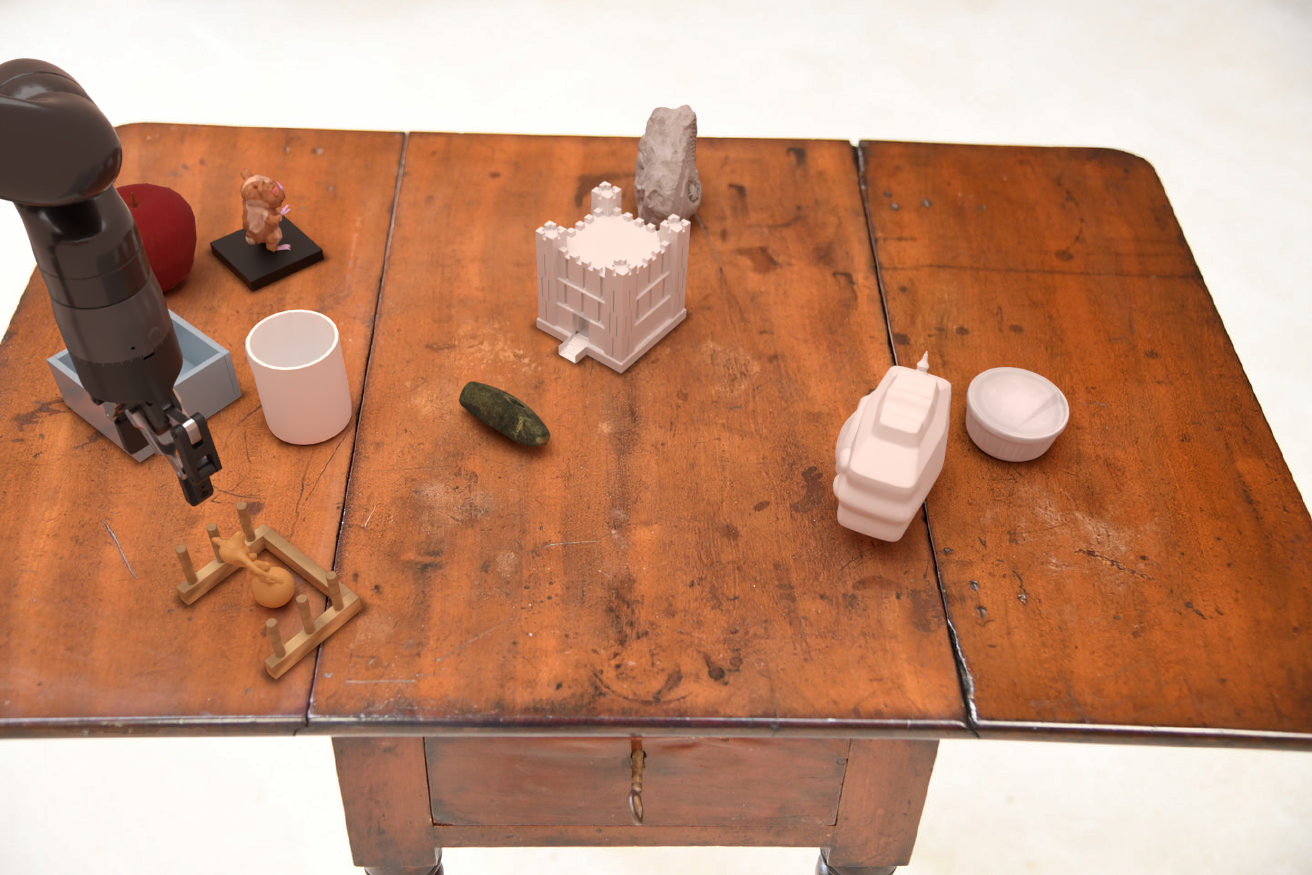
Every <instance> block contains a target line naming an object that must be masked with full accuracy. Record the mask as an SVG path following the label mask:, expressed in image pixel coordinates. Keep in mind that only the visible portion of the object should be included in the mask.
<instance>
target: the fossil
mask: <svg viewBox="0 0 1312 875" xmlns="http://www.w3.org/2000/svg"><path fill="white" fill-rule="evenodd" d="M697 122H698V118H697V114H696V112H695V111H693V108H692V107H691V106H690V105H689V104H687V103H686V104H683V105H680V106H679V107H677V108H669V107H667V106H666V107H665V106H659V107H655V108H654V109H653V110H652V112H651V114H650V116H649V117H648V119H647V121H646V125H645V129H644V130H645V132H644V134H642V136H641V137H640V139H639V141H638V143H637V146H636V147H637V155H636V161H635V164H634V170H635V175H634V182H633V187H634V191H633V192H634V193H633V194H634V200H635V202H636V203H635V206H636V208H637V218H638V217H639V218H641V219H643V220H644V225H646V226H647V225H648V224H649V223H651V224H653V225H655V226H656V229H655V230H656V231H659V230H660V223H662V222H663V221H664V220H667V221H668V217H669V216H671V215H672V214H675V215H677V216H679V217H680V222H681V220H683V219H685V220H687V221H689V222H690V219H691V217H692V216H693V215H694V214H695V213H696V212H697V209H698V208H699V206H700V205H701V202H702V197H703V186H702V182H701V181H700V176H699V171H698V169H697V156H696V152H697V136H698V123H697Z"/></svg>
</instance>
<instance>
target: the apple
mask: <svg viewBox="0 0 1312 875" xmlns="http://www.w3.org/2000/svg"><path fill="white" fill-rule="evenodd" d="M115 188H116V190H117V192H118V193H119V195H120V196H121V197H122V199H123V200H124V202H125V203H126V205H127V206H128V208H129V210H130V211H131V213H132V215H133V217H134V219H135V222H136V224H137V227H138V229H139V232H140V235H141V238H142V241H143V244H144V247H145V250H146V253H147V256H148V260H149V263H150V266H151V268H152V271H153V273H154V275H155V277H156V278H157V280H158V282H159V284H160V287H161V289H162V292H163V293H164V292H167V291H170V290H172V289H173V288H175V287H176V286H178V284H179V283H181V282H182V281H183V280H184V279H185V278H186V277H187V276H188V275H189V274H190V273H191V271H192V268H193V264H194V259H195V252H196V246H197V242H198V236H197V235H198V234H197V225H196V217H195V216H196V215H195V214H194V211H193V208H192V206H191V205H190V203H189V202H188V201H187V200H186V199H185V198H184V197H183V196H182V194H180V193H179V192H177V191H176V190H174V189H171V187H168V186H167V187H166V186H162V185H157V184H152V183H147V182H146V183H143V182H142V183H131V184H127V185H126V184H125V185H121V186H118V187H115Z"/></svg>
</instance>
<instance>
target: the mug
mask: <svg viewBox="0 0 1312 875" xmlns="http://www.w3.org/2000/svg"><path fill="white" fill-rule="evenodd" d="M244 352H245V357H246V360H247V363H248V365H249V368H250V370H251V372H252V375H253V379H254V382H255V385H256V389H257V392H258V393H257V394H258V398H259V401H260V404H261V408H262V412H263V416H264V419H265V422H266V424H267V427H268V429H269V431H270V432H271V433H272V434H273V435H274V437H276V438H278V439H279V440H282V441H283V442H286V443H289V444H293V445H302V446H303V445H314V444H319V443H323V442H326V441H327V440H330V439H331V438H333V437H336V436H337V435H338V434H339V433H341V432H342V431H343V430H344V429H345V428H346V427H347V426H348V424H349V423H350V420H351V417H352V415H353V405H352V404H353V403H352V396H351V390H350V386H349V385H350V384H349V381H348V380H349V379H348V376H347V370H346V365H345V359H344V354H343V348H342V343H341V339H340V334H339V330H338V328H337V325H336V323H335V322H334V321H333V320H332V319H331V317H328V316H326V315H324V314H323V313H320V312H317V311H314V310H309V309H291V310H289V309H288V310H284V311H281V312H276V313H274V314H272V315H269V316H266V317H265V318H263V319H262V320H261V321H259V322H258V323H256V324H255V325H254V326H253V328H252V329H250V331H249V333H248V335H247V336H246V337H245V340H244Z"/></svg>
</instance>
